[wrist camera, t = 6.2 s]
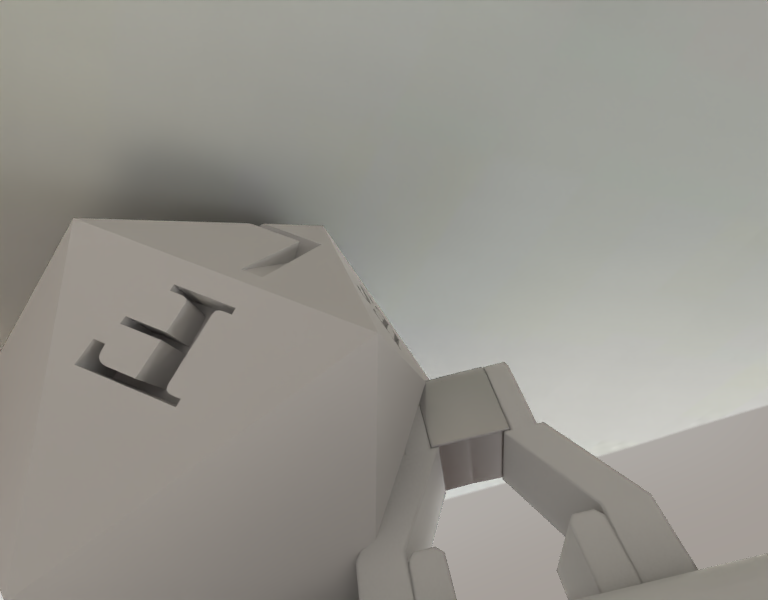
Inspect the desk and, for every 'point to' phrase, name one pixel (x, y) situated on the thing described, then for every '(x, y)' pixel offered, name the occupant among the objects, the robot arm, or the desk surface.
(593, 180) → the desk surface
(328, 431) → the die
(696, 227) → the desk surface
